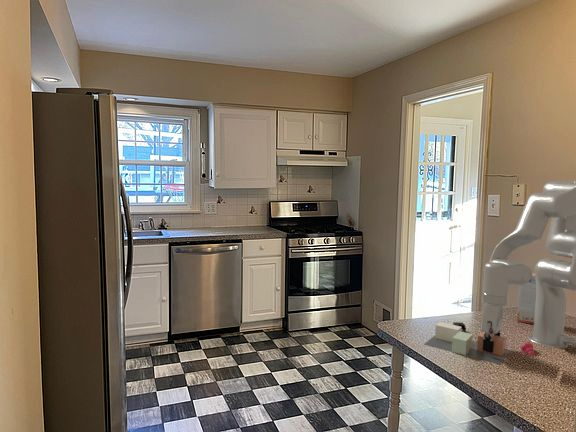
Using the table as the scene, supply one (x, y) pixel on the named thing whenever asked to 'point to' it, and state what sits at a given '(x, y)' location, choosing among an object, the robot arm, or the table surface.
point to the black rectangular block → (460, 325)
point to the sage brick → (462, 343)
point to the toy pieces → (528, 348)
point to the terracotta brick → (498, 344)
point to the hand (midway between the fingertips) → (491, 347)
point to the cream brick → (446, 331)
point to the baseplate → (472, 353)
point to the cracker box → (527, 301)
